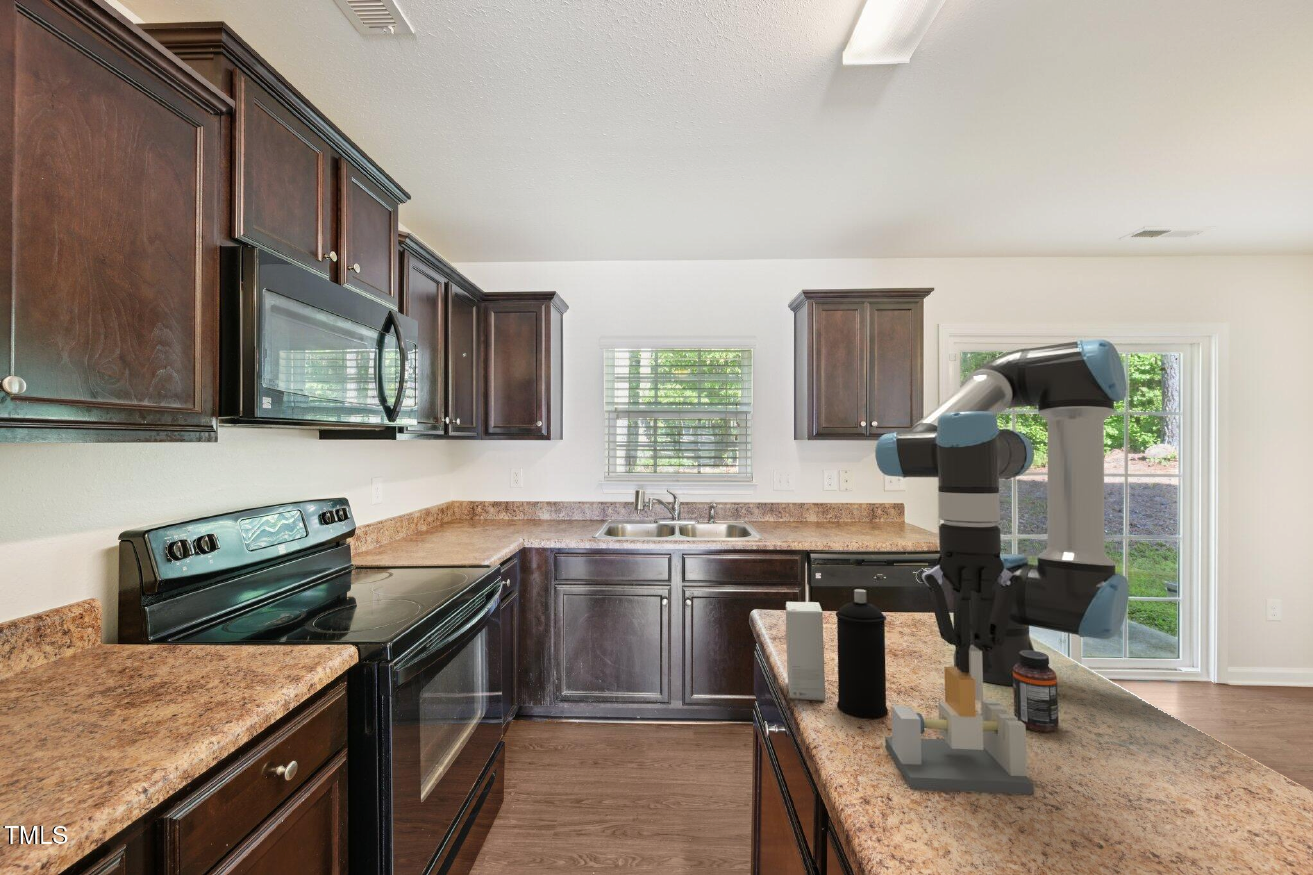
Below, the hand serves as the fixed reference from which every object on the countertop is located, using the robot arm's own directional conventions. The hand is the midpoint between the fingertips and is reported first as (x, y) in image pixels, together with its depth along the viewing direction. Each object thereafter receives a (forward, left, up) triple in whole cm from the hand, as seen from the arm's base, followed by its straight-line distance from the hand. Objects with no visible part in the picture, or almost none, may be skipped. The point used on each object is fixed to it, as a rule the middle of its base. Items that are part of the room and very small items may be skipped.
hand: (973, 695), depth 80 cm
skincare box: (+19, -26, -10) cm, 34 cm away
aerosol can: (+10, -19, -10) cm, 24 cm away
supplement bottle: (-16, -15, -10) cm, 24 cm away
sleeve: (+2, 0, -6) cm, 6 cm away
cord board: (+3, 0, -10) cm, 10 cm away
